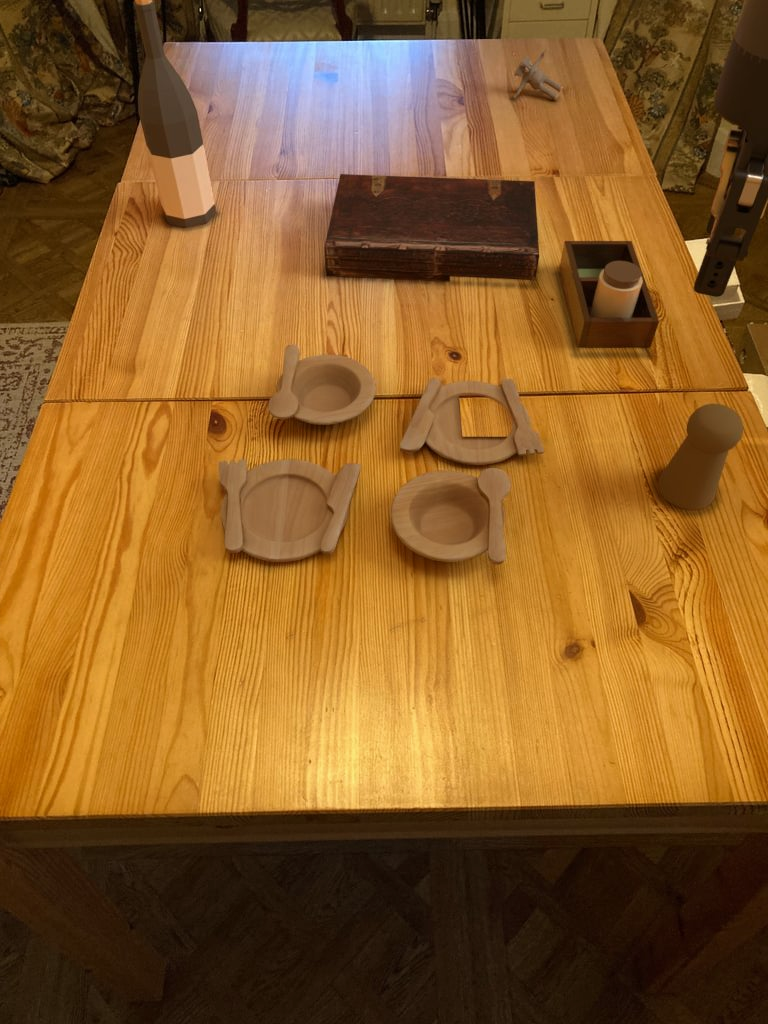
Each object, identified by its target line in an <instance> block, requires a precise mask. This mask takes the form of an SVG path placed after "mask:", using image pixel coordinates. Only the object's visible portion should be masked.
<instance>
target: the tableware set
mask: <svg viewBox="0 0 768 1024" xmlns="http://www.w3.org/2000/svg"><path fill="white" fill-rule="evenodd" d="M300 355H301V352H300V347H299V346H298V345H297V344H287V345H286V347H285V349H284V355H283V356H284V357H283V365H282V374H281V375H280V377H279V379H278V381H277V384H276V390H275V391H276V392H275V394H273V395H272V396H271V397H270V399H269V401H268V403H267V408H268V412H269V413H270V415H271V416H272V417H273V418H276V419H280V420H286V419H289V418H294V419H297V420H298V421H300V422H304V423H307V424H310V425H311V424H312V425H319V426H326V425H328V426H331V425H336V424H341V423H345V422H347V421H348V422H349V421H351V420H353V419H355V418H357V417H359V416H360V415H362V414H363V413H364V412H365V411H366V410H367V409H368V408H369V407H370V406H371V405H372V403H373V401H374V399H375V395H376V392H377V391H376V390H377V384H376V381H375V378H374V375H373V374H372V373H371V372H370V370H369V369H368V368H367V367H366V366H365V365H364V364H362V363H361V362H359V361H357V360H356V359H353V358H351V357H348V356H345V355H341V354H318V355H312V356H308V357H305V358H302V359H300ZM461 396H481V397H484V398H487V399H490V400H493V401H494V402H497V403H498V404H499V405H500V406H502V407H503V408H504V409H505V411H507V413H508V415H509V417H510V421H511V429H510V432H509V433H508V435H507V436H463V426H462V425H463V424H462V414H461V412H462V411H461V402H460V397H461ZM531 425H532V422H531V417H530V414H529V412H528V410H527V408H526V406H525V404H524V403H522V401H521V398H520V394H519V390H518V388H517V385H516V383H515V380H513V379H511V378H505V379H502V380H501V381H500V386H498V385H496V384H493V383H489V382H485V381H478V380H462V381H456V382H449V383H446V384H444V385H442V381H441V379H440V378H438V377H433V378H432V377H431V378H430V379H429V381H428V382H427V384H426V386H425V389H424V390H423V393H422V395H421V398H420V400H419V402H418V404H417V407H416V409H415V411H414V413H413V415H412V417H411V420H410V421H409V424H408V427H407V428H406V431H405V433H404V435H403V437H402V440H401V442H400V444H399V451H400V452H403V453H408V454H411V453H412V454H413V453H416V452H417V451H419V450H420V449H421V448H422V447H423V446H424V445H426V446H427V447H428V448H429V449H431V450H432V452H434V453H435V454H437V455H438V456H440V457H442V458H445V459H447V460H449V461H451V462H455V463H458V464H462V465H469V466H488V465H493V464H497V463H500V462H503V461H505V460H507V459H509V458H511V457H513V456H514V455H516V454H518V456H526V455H527V453H528V455H534V454H535V452H536V453H537V454H538V455H541V454H544V453H545V449H544V446H543V442H542V440H541V437H540V434H539V433H538V432H537V431H536V430H534V429H533V428H531V427H532V426H531ZM247 463H248V461H247V459H245V458H243V459H238V462H237V461H236V459H232V460H229V463H228V461H227V460H223V461H218V480H219V484H220V486H221V487H222V488H223V489H224V490H225V492H226V493H225V495H224V498H223V500H222V503H221V508H220V517H221V523H222V527H223V530H224V532H225V534H224V547H225V550H226V551H227V552H228V553H230V554H237V553H240V552H242V553H244V554H246V555H248V556H250V557H252V558H255V559H258V560H262V561H265V562H272V563H289V562H295V561H300V560H303V559H307V558H310V557H312V556H314V555H317V554H318V553H320V552H321V553H322V554H323V555H327V556H328V555H331V554H333V553H334V552H335V550H336V548H337V545H338V543H339V539H340V535H341V532H342V531H343V530H344V528H345V525H346V523H347V519H348V516H349V510H350V508H349V507H350V504H351V502H352V499H353V495H354V492H355V490H356V486H357V483H358V480H359V477H360V474H361V470H362V465H361V464H360V463H355V462H348V463H345V464H343V465H342V466H341V467H340V468H339V470H338V471H337V473H336V475H335V474H334V473H333V472H332V471H330V470H329V469H327V468H325V467H324V466H321V465H319V464H317V463H315V462H312V461H307V460H303V459H296V458H291V459H290V458H288V459H287V458H286V459H277V460H271V461H267V462H264V463H261V464H259V465H257V466H255V467H253V468H251V469H249V470H248V464H247ZM511 488H512V480H511V478H510V476H509V475H508V473H507V472H505V471H504V470H503V469H500V468H499V467H488V468H485V469H483V470H482V471H481V472H480V473H479V474H478V477H476V476H474V475H471V474H469V473H466V472H462V471H458V470H457V471H456V470H433V471H428V472H424V473H421V474H419V475H417V476H415V477H413V478H411V479H409V480H408V481H407V482H405V483H404V484H403V485H402V486H401V487H400V488H399V489H398V491H397V492H396V493H395V495H394V498H393V500H392V502H391V507H390V519H391V525H392V527H393V530H394V533H395V534H396V536H397V538H398V539H399V540H400V541H401V543H402V544H403V545H404V546H405V547H407V549H408V550H411V552H413V553H415V554H417V555H419V556H421V557H424V558H426V559H429V560H432V561H438V562H447V563H449V562H450V563H456V562H464V561H468V560H471V559H474V558H477V557H479V556H482V555H483V554H485V553H487V558H488V561H489V562H490V564H491V563H492V565H502V564H503V563H504V562H505V560H506V556H507V551H506V550H507V549H506V539H505V530H504V526H505V522H506V521H505V519H506V516H505V515H506V514H505V508H504V505H503V503H502V502H503V500H504V499H505V498H506V497H507V496H508V495H509V493H510V491H511Z"/></svg>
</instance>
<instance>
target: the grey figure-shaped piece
mask: <svg viewBox="0 0 768 1024" xmlns="http://www.w3.org/2000/svg"><path fill="white" fill-rule="evenodd" d="M546 52H547V48H545V49H544V50H543V51H542V52H541V54H540V56H539V58H538V59H537V60H536V61H534V62H533V63H532V60H531V59H530V58H529V54H527V55H525V56H524V57H523V59H522V61H521V62H520V63H519V64H518V65H517V66H518V67H517V69H515V71H514V73H513V76H514V77H520V78H521V81H520V84H519V86H518V89H517V91H516V92H515V94H514V96H513V98H512V99H513V100H515V99H516V98H517V97H518V96H519V95H520V93H521V91H522V90H523V89H524V88H525V87H526V85H527V84H529V85H530V87H531V88H532V89H533V90H539V91H540V92H542V93H544V94H545V95H547V97H549V98H551V99H552V100H553V101H556V100H557V99H558V97H559V94H558V93H561V91H562V90H563V88H564V86H563V85H561V84H559V83H557V82H556V81H555V80H553V79H552V78H551V77H549V76H546V74H545V72H544V71H543V70H539V69H538V68H539V67H540V63H541V61H542V60H544V57H545V54H546ZM546 85H548V86H549V87H551V88H552V89H554V90H555V91H557V92H558V93H556V92H554V90H552V89H550V88H549V87H548V86H546Z"/></svg>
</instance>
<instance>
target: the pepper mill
mask: <svg viewBox="0 0 768 1024" xmlns="http://www.w3.org/2000/svg"><path fill="white" fill-rule="evenodd" d="M685 431H686V436H685V438H684V439H683V441H682V442H681V444H680V446H679V447H678V449H677V450H676V452H675V453H674V454H673V456H672V457H671V459H670V460H669V462H668V464H667V465H666V467H665V468H664V470H663V471H662V473H661V474H660V475H659V477H658V481H657V487H658V492H659V493H660V494H661V496H662V498H663V499H665V500H666V501H667V502H668V504H671V505H673V506H675V507H676V508H679V509H683V510H687V511H688V510H689V511H697V510H703V509H705V508H707V507H709V506H710V505H711V504H712V503H713V502H714V500H715V497H716V494H717V491H718V487H719V484H720V481H721V477H722V474H723V471H724V468H725V464H726V460H727V457H728V454H729V452H730V451H731V450H732V449H734V448H735V447H736V446H737V445H738V443H739V442H740V441H741V439H742V438H743V433H744V423H743V420H742V417H741V416H740V415H739V413H738V412H737V411H736V410H734V409H733V408H731V407H729V406H726V405H724V404H721V403H706V404H704V405H702V406H700V407H697V408H696V409H695V410H694V411H693V412H692V413H691V415H690V416H689V418H688V420H687V424H686V430H685Z"/></svg>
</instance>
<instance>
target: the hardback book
mask: <svg viewBox="0 0 768 1024" xmlns="http://www.w3.org/2000/svg"><path fill="white" fill-rule="evenodd" d="M536 198H537V196H536V183H535V181H534V180H514V179H513V180H512V179H487V178H486V179H483V178H459V177H458V178H455V177H431V176H430V177H429V176H407V175H405V176H403V175H378V174H377V175H375V174H372V175H371V174H349V173H348V174H347V173H340V174H339V179H338V183H337V188H336V192H335V197H334V201H333V205H332V210H331V215H330V219H329V224H328V228H327V233H326V238H325V242H324V261H325V262H324V264H325V274H326V276H327V277H328V276H331V277H332V276H334V277H352V278H353V277H354V278H375V279H376V278H377V279H398V280H419V281H420V280H421V281H439V282H440V281H443V282H450V281H451V277H456V278H457V277H458V278H459V277H460V278H483V279H504V280H506V279H507V280H524V281H525V280H526V281H536V280H537V279H536V278H537V273H538V267H539V261H540V246H539V245H540V244H539V230H538V229H539V228H538V213H537V199H536Z"/></svg>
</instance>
